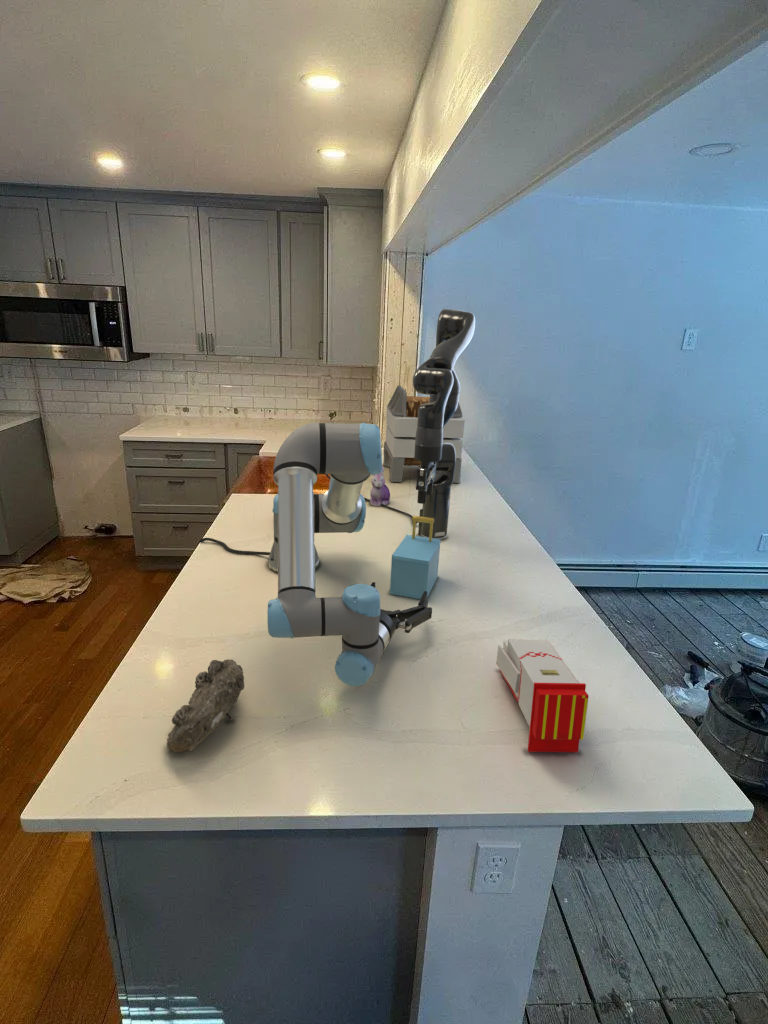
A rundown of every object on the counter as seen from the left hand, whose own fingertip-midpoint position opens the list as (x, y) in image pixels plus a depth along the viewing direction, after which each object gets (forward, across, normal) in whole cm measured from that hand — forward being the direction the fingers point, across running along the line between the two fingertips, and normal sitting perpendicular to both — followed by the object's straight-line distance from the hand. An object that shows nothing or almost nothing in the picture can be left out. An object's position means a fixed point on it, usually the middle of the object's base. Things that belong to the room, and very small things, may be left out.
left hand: (399, 591), depth 144 cm
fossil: (-49, -23, -7) cm, 55 cm away
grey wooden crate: (+134, -26, -7) cm, 137 cm away
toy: (-24, +35, -7) cm, 43 cm away
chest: (+18, 0, -7) cm, 20 cm away
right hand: (+24, 0, +17) cm, 30 cm away
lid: (+19, 0, +4) cm, 19 cm away
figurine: (+84, -31, -7) cm, 89 cm away
